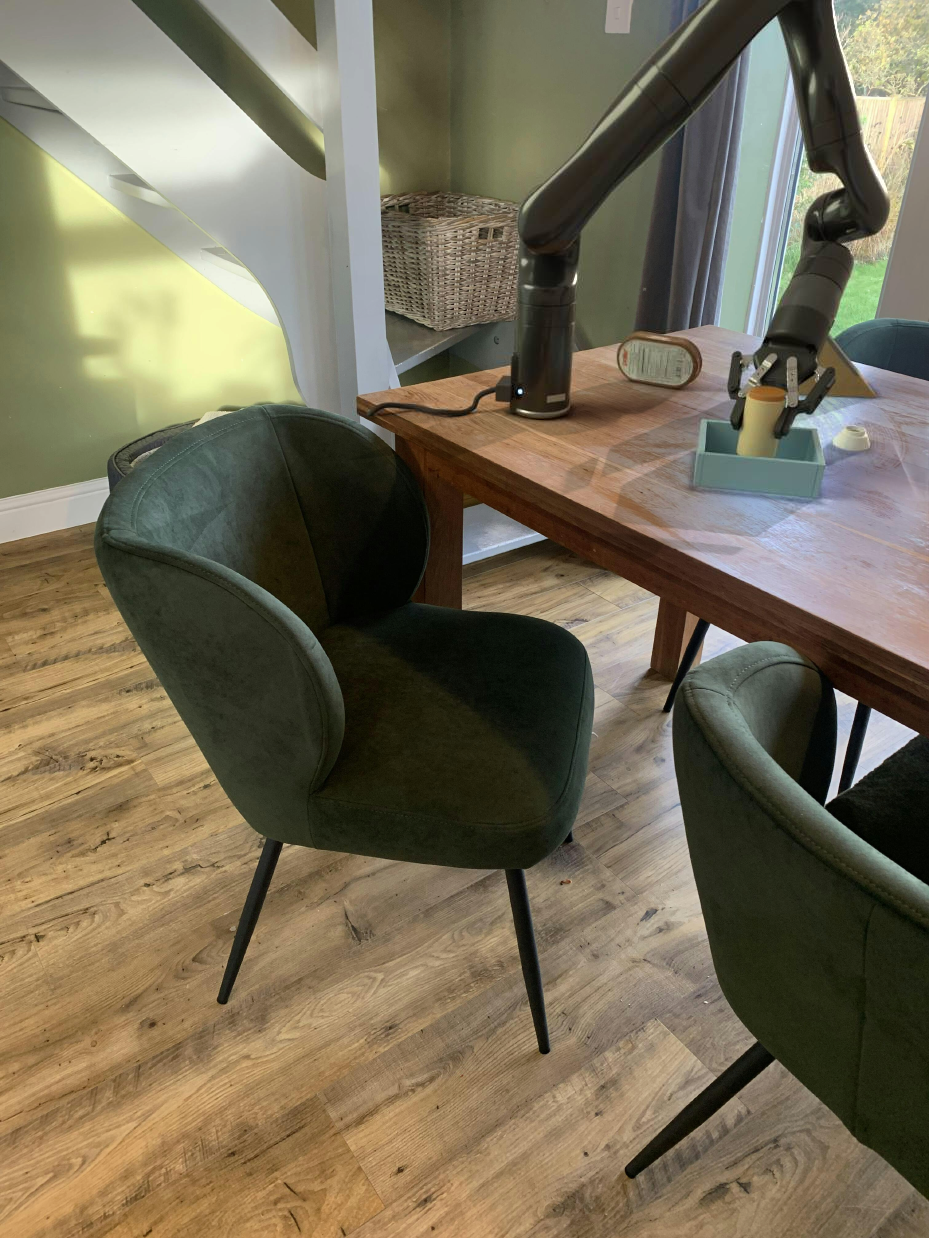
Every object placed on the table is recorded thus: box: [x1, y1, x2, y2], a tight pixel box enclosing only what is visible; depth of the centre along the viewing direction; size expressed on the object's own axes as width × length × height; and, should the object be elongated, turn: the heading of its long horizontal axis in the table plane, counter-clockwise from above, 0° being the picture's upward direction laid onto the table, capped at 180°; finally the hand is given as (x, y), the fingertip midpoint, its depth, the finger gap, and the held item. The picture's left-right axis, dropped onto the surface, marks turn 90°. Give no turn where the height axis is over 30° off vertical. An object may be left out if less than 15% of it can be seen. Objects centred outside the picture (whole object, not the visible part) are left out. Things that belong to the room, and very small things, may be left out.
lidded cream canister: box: [737, 386, 788, 458], centre depth 115 cm, size 5×5×8 cm
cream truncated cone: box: [832, 424, 871, 452], centre depth 127 cm, size 5×3×5 cm
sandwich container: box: [786, 333, 878, 399], centre depth 148 cm, size 9×15×15 cm, turn 82°
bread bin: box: [692, 418, 826, 499], centre depth 118 cm, size 16×14×5 cm
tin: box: [616, 330, 703, 390], centre depth 152 cm, size 15×3×8 cm, turn 58°
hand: (756, 431), depth 114 cm, fingers closed on lidded cream canister, 5 cm apart
